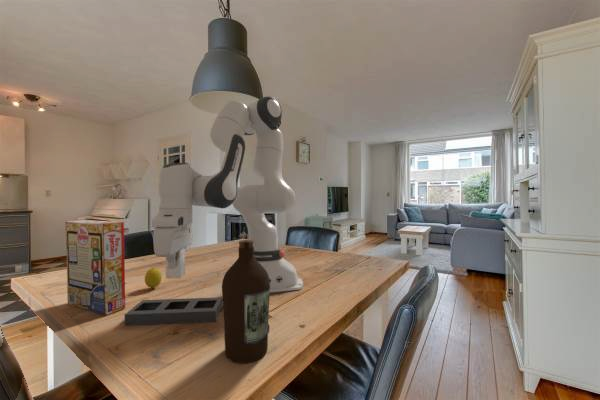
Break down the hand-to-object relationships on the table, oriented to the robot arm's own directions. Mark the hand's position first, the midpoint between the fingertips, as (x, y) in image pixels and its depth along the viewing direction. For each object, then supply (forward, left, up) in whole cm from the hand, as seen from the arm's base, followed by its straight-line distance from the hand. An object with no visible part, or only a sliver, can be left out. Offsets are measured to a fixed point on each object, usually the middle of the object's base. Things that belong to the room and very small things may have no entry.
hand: (175, 265), depth 78 cm
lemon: (+17, -24, -15) cm, 33 cm away
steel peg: (0, 0, -3) cm, 3 cm away
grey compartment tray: (0, 0, -15) cm, 15 cm away
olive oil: (-22, +20, -15) cm, 33 cm away
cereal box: (+28, -9, -15) cm, 33 cm away
